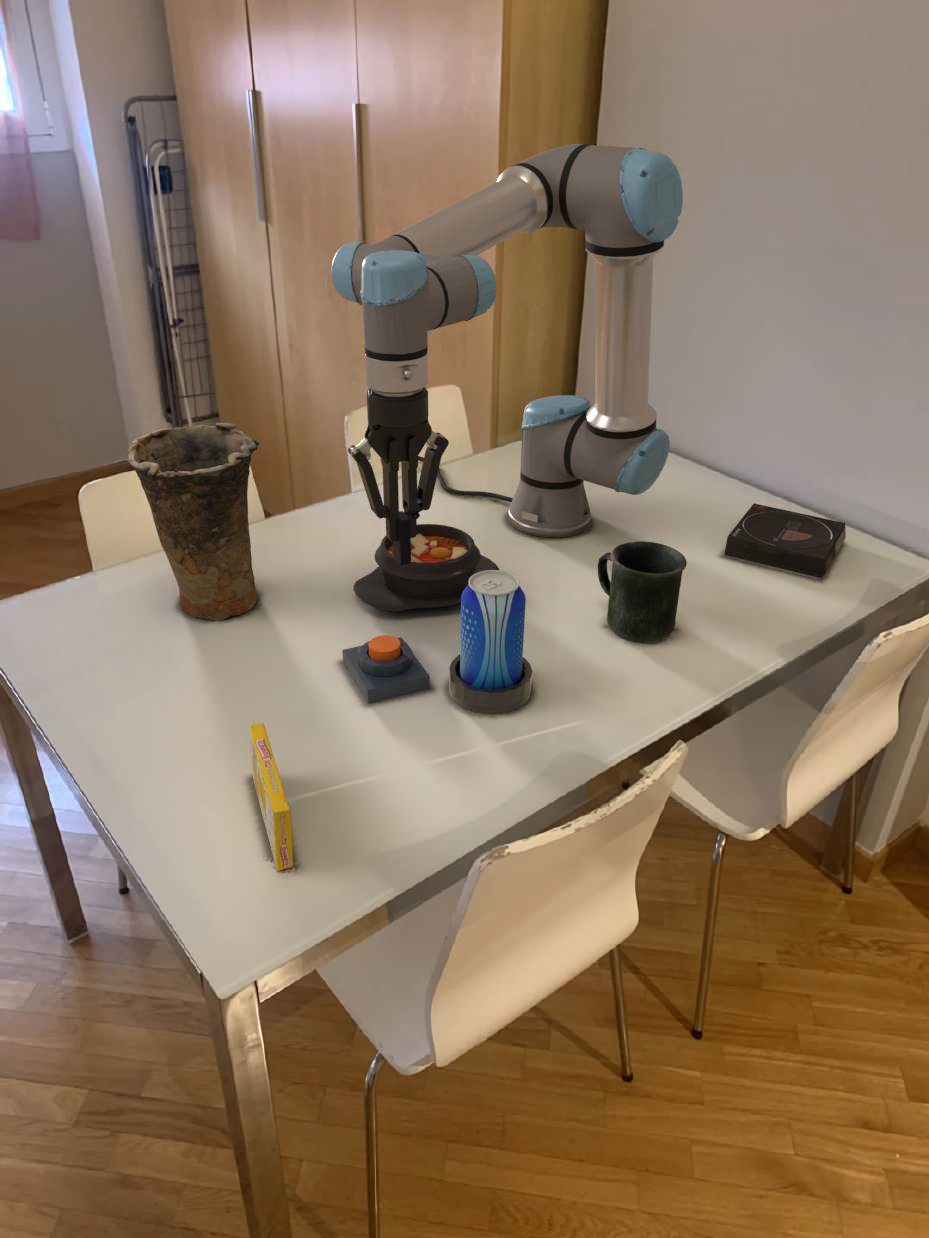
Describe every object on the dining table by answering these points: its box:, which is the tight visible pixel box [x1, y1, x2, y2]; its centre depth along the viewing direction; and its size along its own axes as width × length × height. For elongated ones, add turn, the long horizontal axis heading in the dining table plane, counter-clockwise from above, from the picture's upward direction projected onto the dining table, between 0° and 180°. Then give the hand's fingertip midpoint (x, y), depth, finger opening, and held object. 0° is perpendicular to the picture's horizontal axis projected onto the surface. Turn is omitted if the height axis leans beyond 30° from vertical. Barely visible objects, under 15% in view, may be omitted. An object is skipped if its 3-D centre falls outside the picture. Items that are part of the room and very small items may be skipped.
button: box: [368, 634, 401, 662], centre depth 135 cm, size 4×4×2 cm
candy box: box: [249, 722, 294, 871], centre depth 109 cm, size 16×2×8 cm, turn 20°
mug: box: [597, 540, 688, 644], centre depth 148 cm, size 11×15×12 cm
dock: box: [448, 653, 533, 715], centre depth 134 cm, size 11×11×4 cm
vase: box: [127, 422, 260, 621], centre depth 148 cm, size 18×18×27 cm
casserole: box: [353, 523, 500, 612], centre depth 157 cm, size 25×19×8 cm
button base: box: [341, 636, 431, 704], centre depth 136 cm, size 11×9×4 cm
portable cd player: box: [723, 502, 847, 581], centre depth 172 cm, size 16×17×4 cm
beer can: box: [459, 569, 527, 690], centre depth 130 cm, size 8×8×16 cm
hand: (402, 559), depth 131 cm, fingers closed
